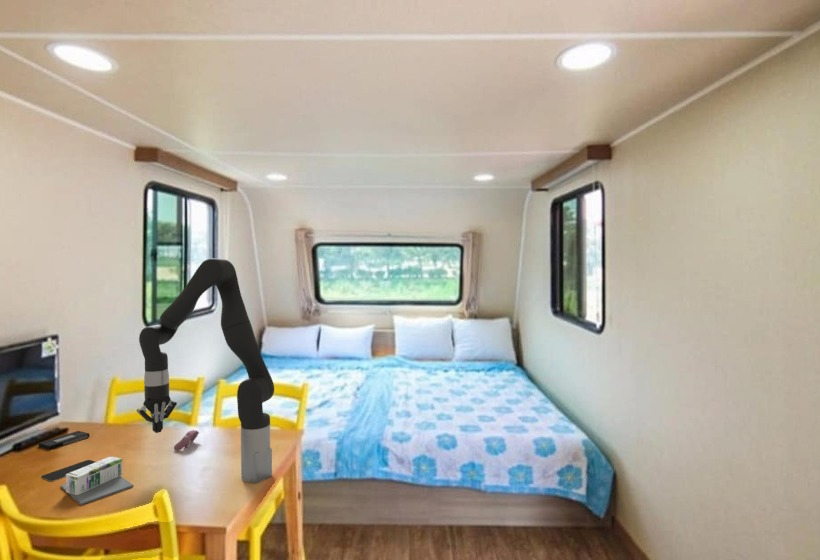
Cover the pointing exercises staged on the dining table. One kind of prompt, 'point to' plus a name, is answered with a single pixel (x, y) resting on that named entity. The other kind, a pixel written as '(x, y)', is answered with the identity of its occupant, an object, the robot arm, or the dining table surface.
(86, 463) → the smartphone
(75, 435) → the vhs tape
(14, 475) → the dining table surface
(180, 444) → the purple-brown oblong lump
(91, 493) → the mat
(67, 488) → the syrup box
